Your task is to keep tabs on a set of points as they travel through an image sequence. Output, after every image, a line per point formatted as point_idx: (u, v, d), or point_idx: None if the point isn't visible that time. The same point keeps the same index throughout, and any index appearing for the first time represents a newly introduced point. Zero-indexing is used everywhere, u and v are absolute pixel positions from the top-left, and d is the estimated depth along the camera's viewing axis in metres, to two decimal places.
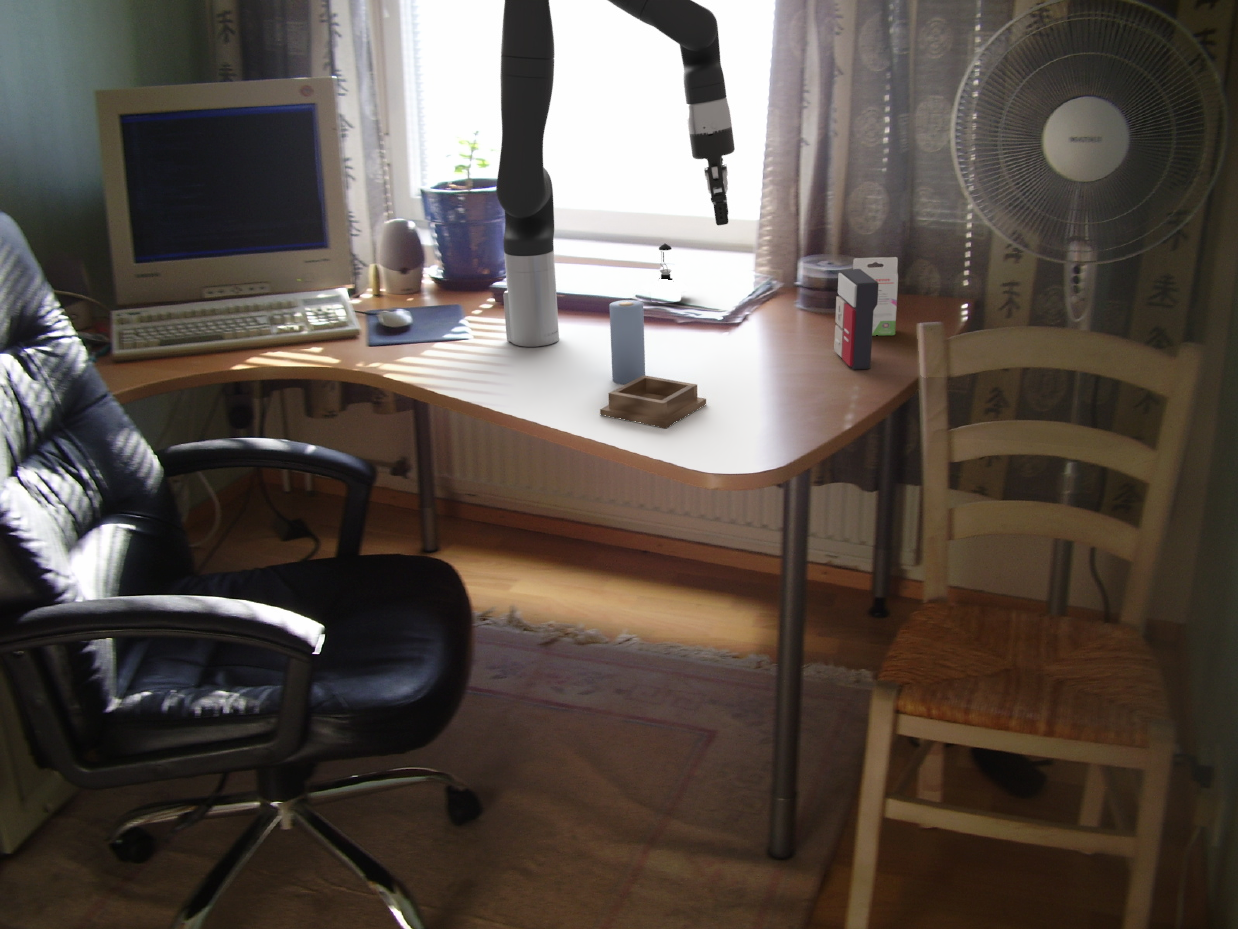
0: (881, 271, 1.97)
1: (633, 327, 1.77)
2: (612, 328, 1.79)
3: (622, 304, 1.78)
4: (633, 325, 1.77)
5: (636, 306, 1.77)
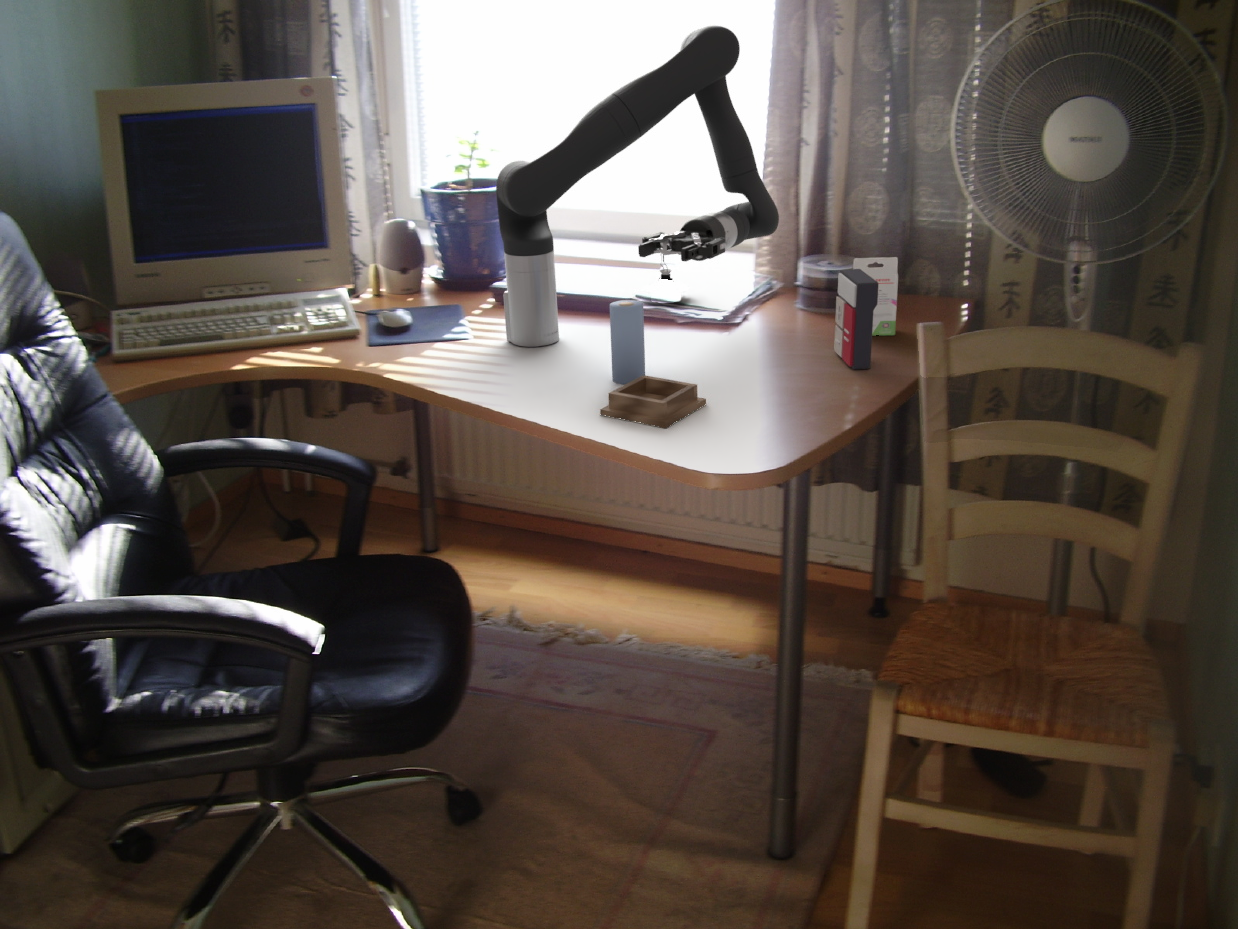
0: (881, 271, 1.97)
1: (633, 327, 1.77)
2: (612, 328, 1.79)
3: (622, 304, 1.78)
4: (633, 325, 1.77)
5: (636, 306, 1.77)
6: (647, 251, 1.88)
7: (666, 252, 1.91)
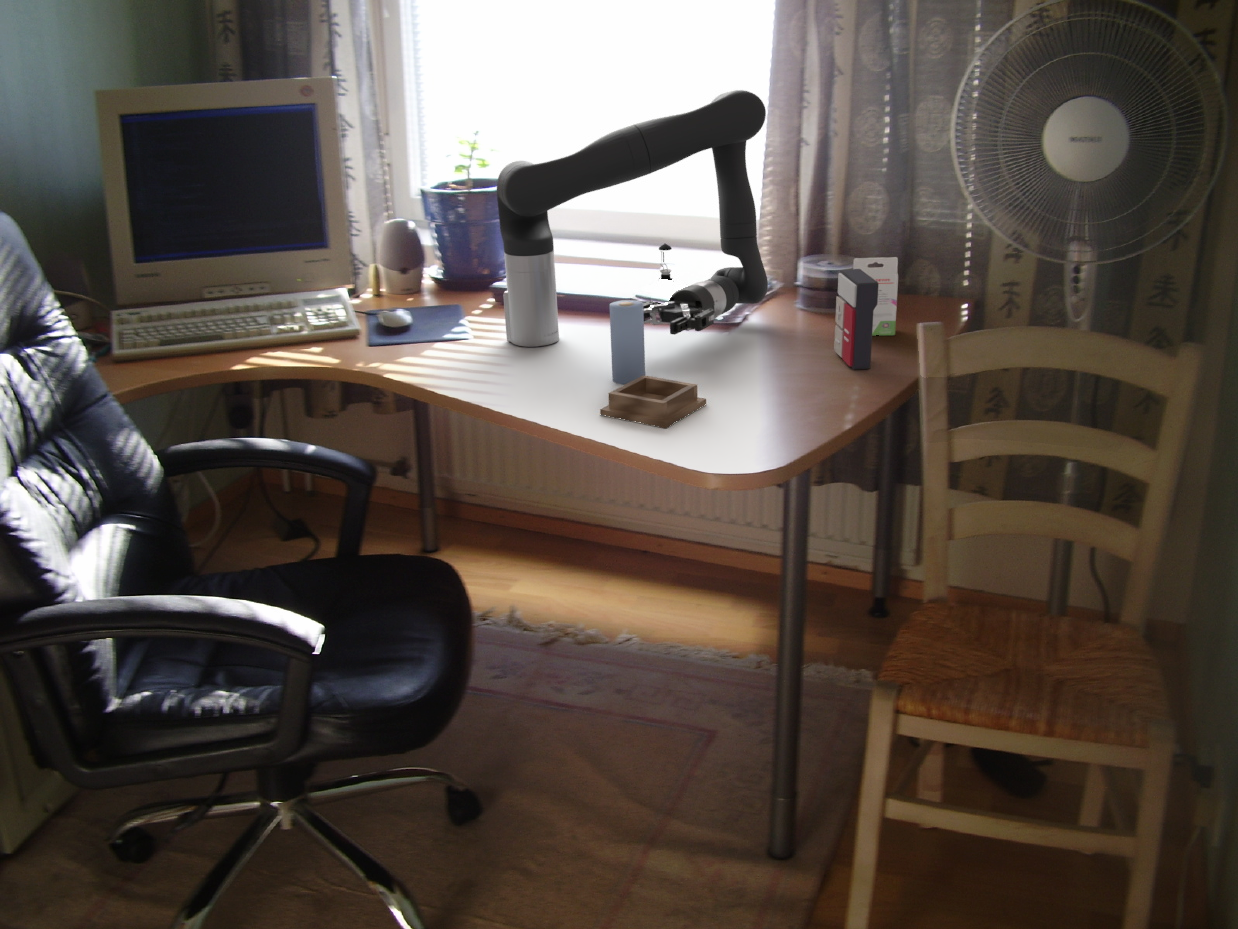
0: (881, 271, 1.97)
1: (633, 327, 1.77)
2: (612, 328, 1.79)
3: (622, 304, 1.78)
4: (633, 325, 1.77)
5: (636, 306, 1.77)
6: None
7: (655, 322, 1.93)
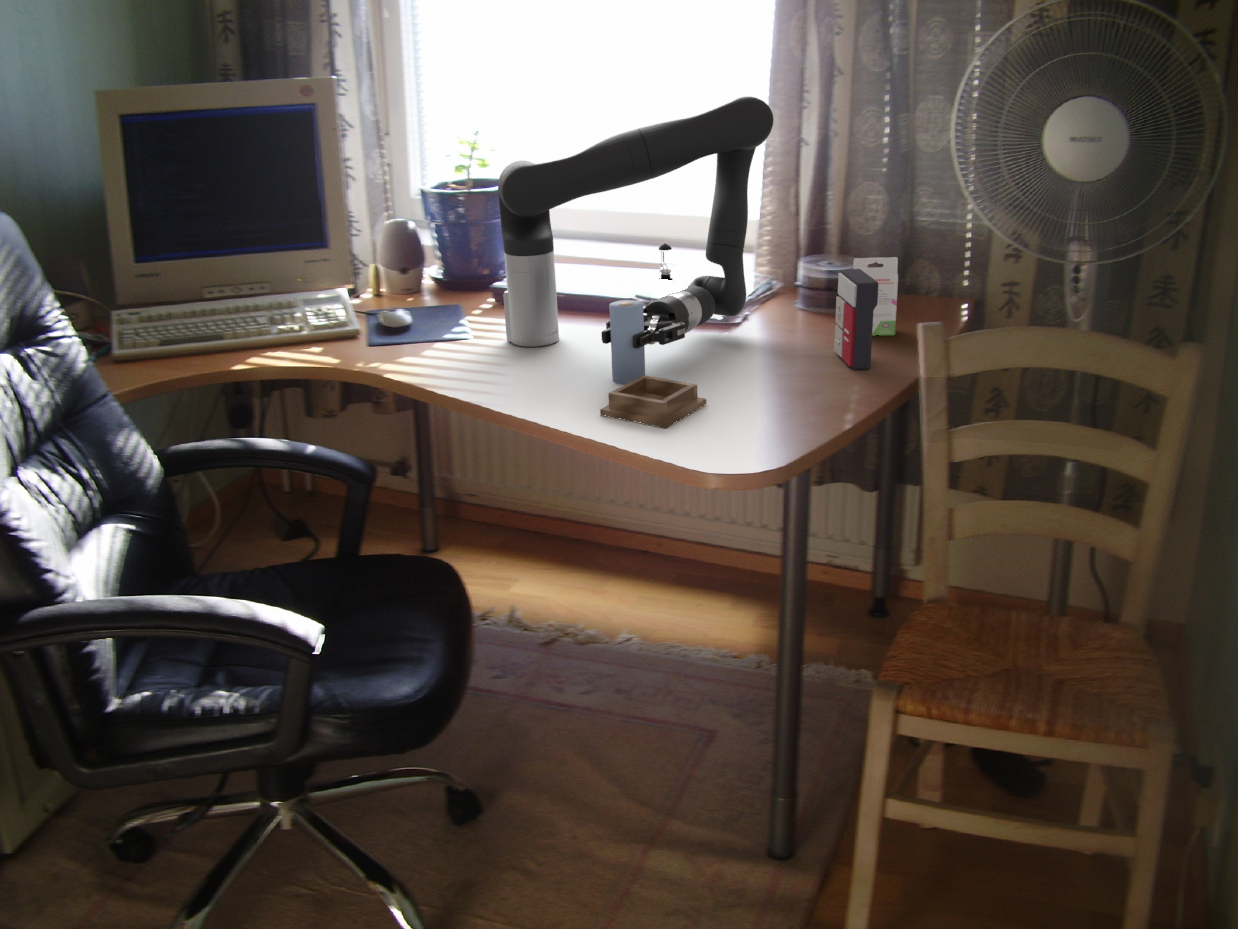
0: (881, 271, 1.97)
1: (633, 327, 1.77)
2: (612, 328, 1.79)
3: (622, 304, 1.78)
4: (633, 325, 1.77)
5: (636, 306, 1.77)
6: (610, 337, 1.82)
7: None
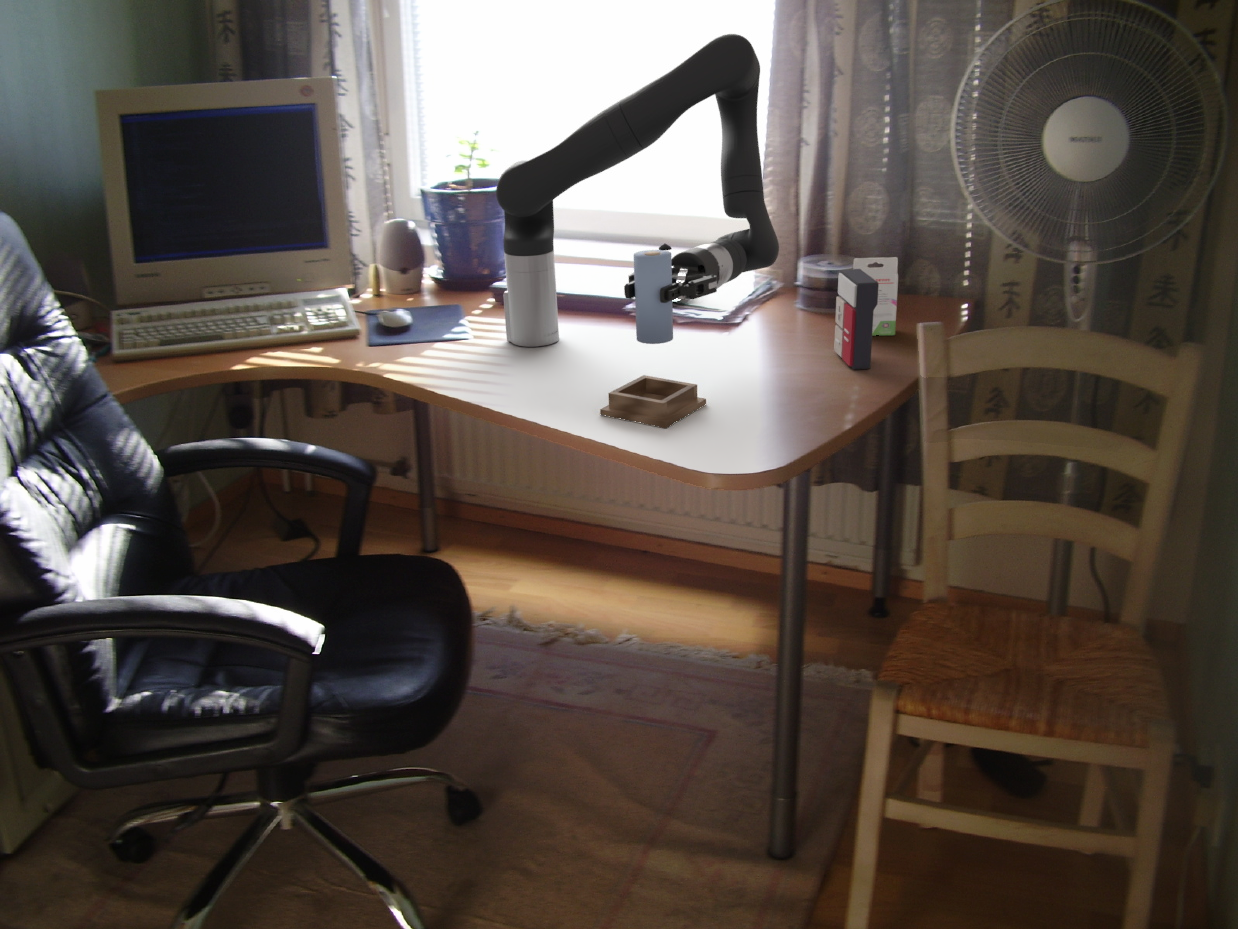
0: (881, 271, 1.97)
1: (660, 279, 1.59)
2: (637, 281, 1.60)
3: (648, 253, 1.59)
4: (660, 277, 1.59)
5: (664, 255, 1.59)
6: (634, 291, 1.63)
7: None
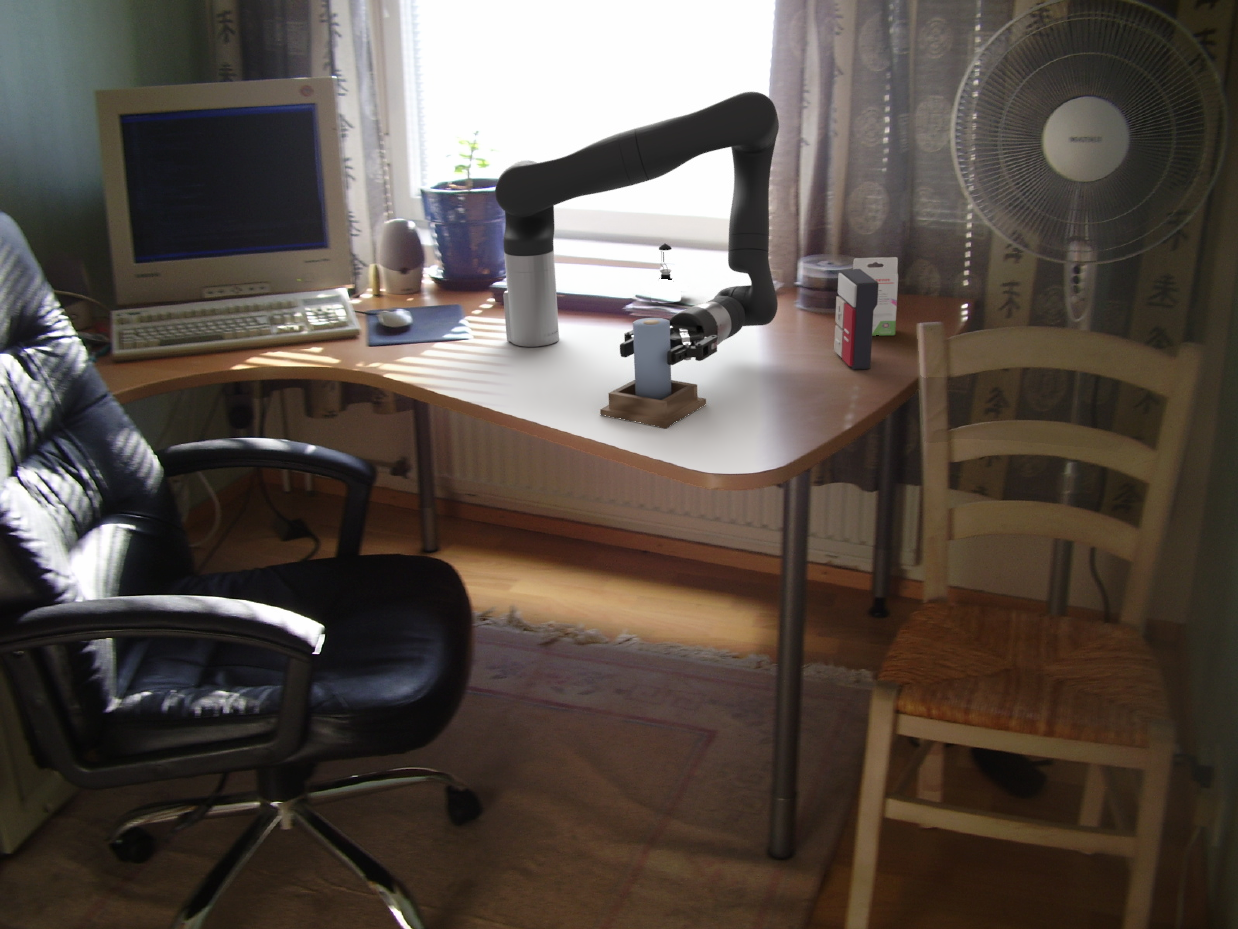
0: (881, 271, 1.97)
1: (659, 347, 1.62)
2: (636, 348, 1.64)
3: (647, 322, 1.63)
4: (659, 345, 1.62)
5: (662, 324, 1.62)
6: (629, 350, 1.67)
7: None
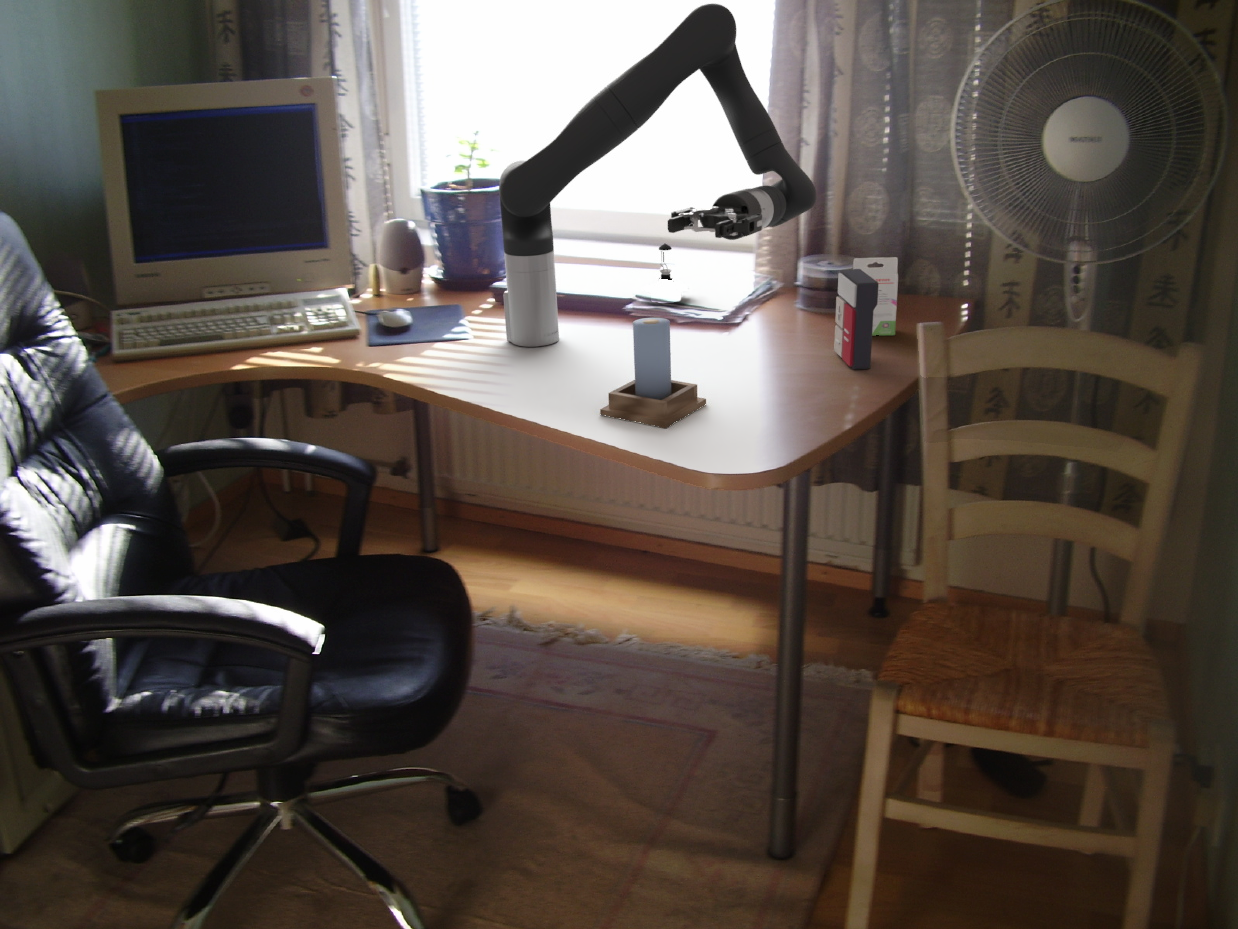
0: (881, 271, 1.97)
1: (659, 346, 1.63)
2: (636, 348, 1.64)
3: (647, 322, 1.63)
4: (658, 345, 1.62)
5: (662, 324, 1.62)
6: (677, 226, 1.72)
7: (697, 229, 1.75)
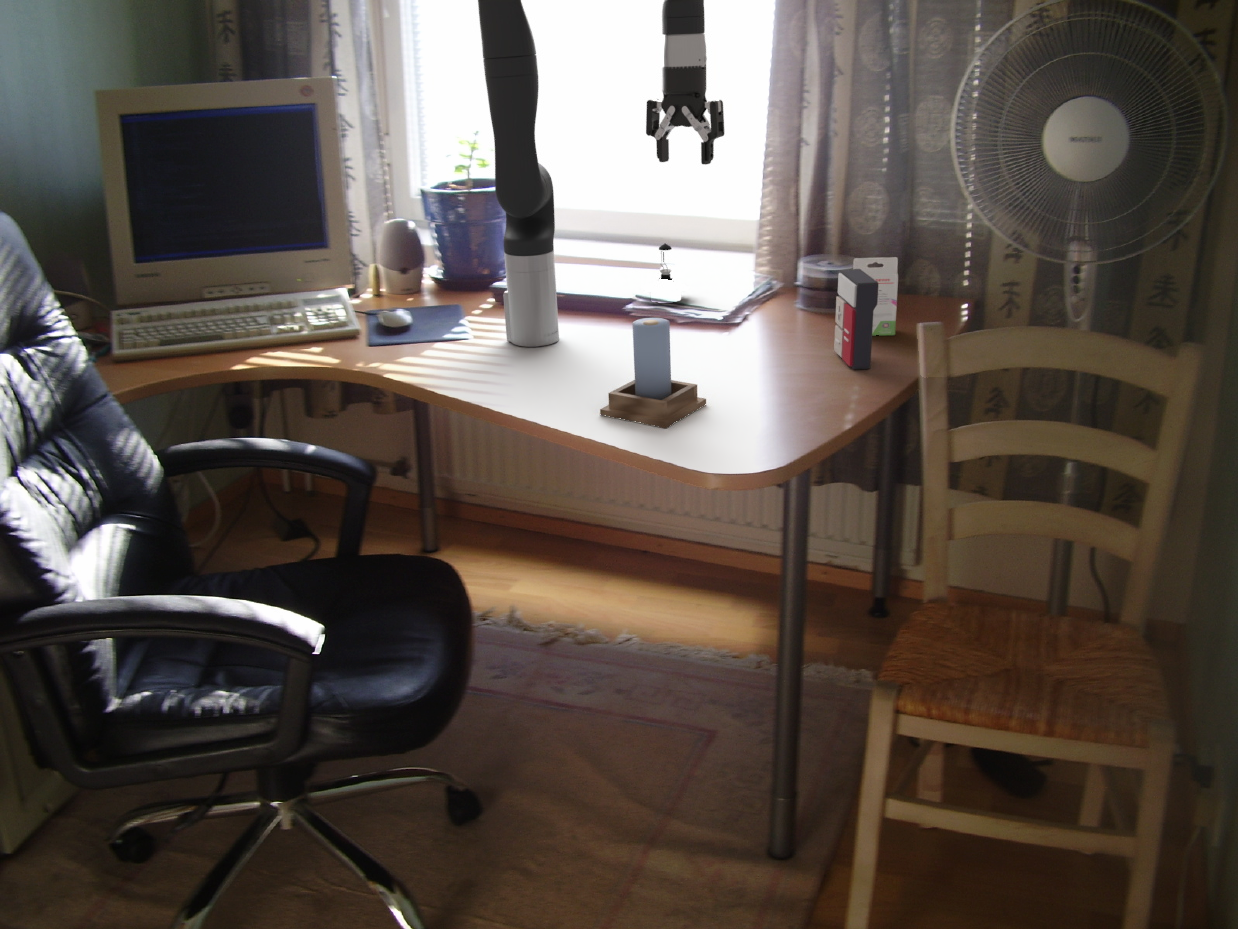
0: (881, 271, 1.97)
1: (658, 348, 1.62)
2: (635, 349, 1.64)
3: (646, 323, 1.63)
4: (658, 346, 1.62)
5: (661, 325, 1.62)
6: (666, 151, 1.89)
7: None
